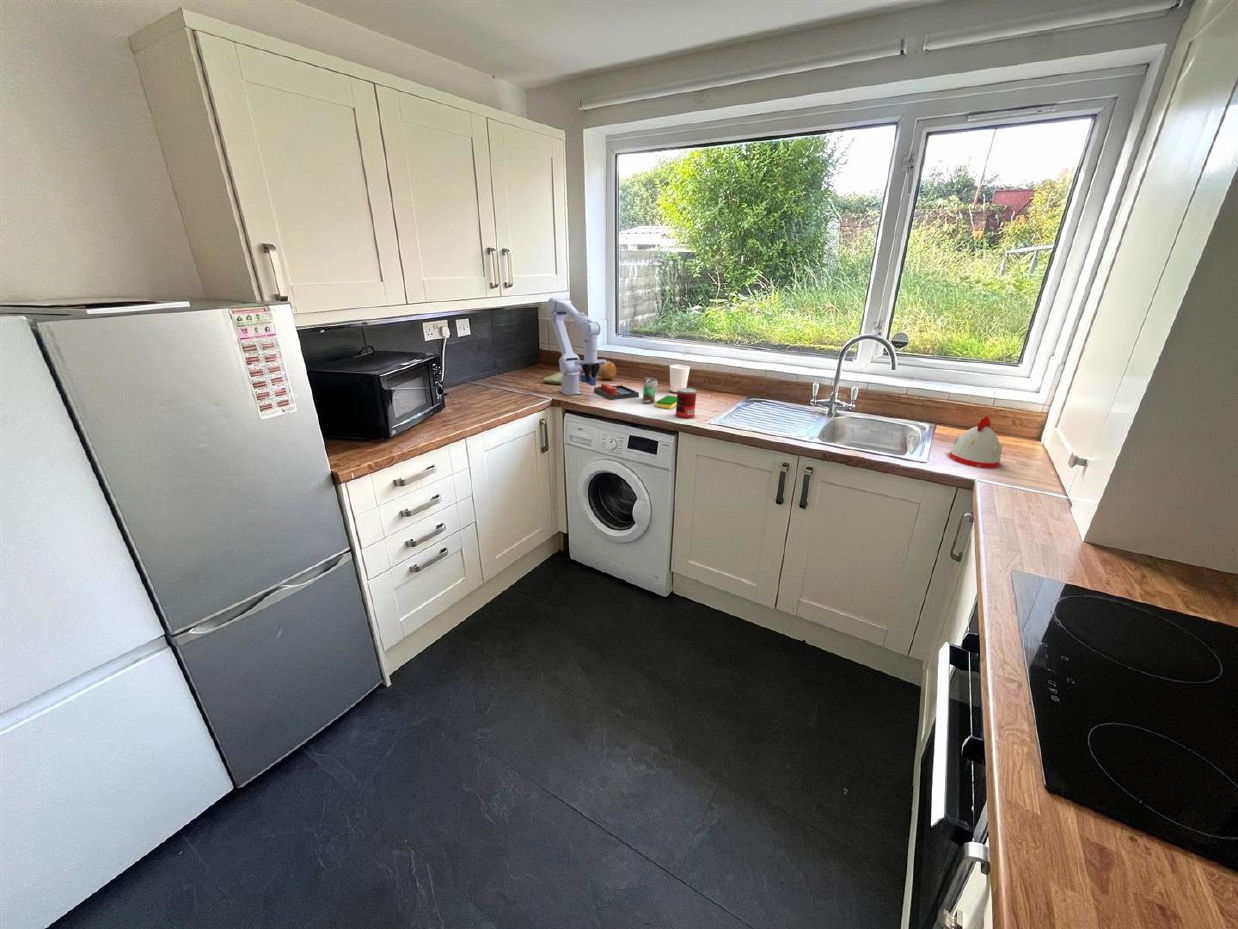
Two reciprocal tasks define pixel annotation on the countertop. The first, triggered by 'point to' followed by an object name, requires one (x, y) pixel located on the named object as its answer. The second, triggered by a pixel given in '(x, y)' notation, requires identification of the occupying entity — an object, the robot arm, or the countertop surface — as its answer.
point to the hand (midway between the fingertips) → (590, 380)
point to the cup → (678, 377)
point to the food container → (649, 390)
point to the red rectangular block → (609, 389)
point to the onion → (607, 370)
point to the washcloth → (553, 379)
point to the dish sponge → (667, 402)
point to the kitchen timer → (977, 447)
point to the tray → (618, 392)
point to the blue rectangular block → (591, 381)
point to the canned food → (685, 402)
